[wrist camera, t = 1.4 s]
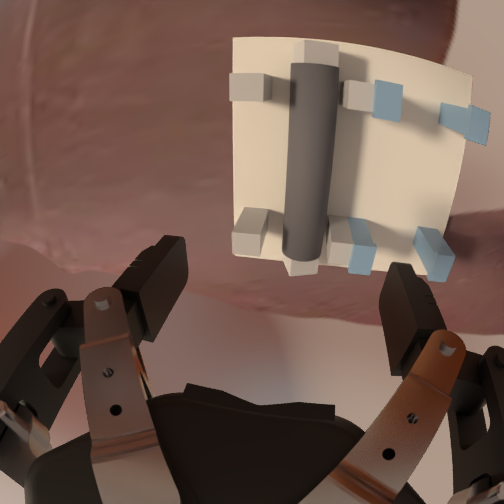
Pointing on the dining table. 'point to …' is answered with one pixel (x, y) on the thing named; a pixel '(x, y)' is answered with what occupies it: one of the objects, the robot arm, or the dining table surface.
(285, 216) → the dark grey dowel
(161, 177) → the dining table surface
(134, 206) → the dining table surface
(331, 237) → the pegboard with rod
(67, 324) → the robot arm
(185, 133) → the dining table surface
